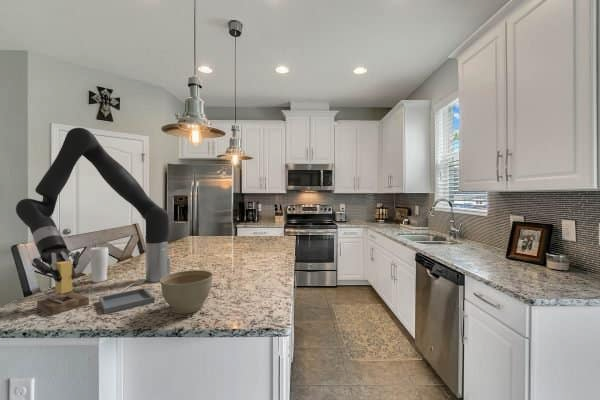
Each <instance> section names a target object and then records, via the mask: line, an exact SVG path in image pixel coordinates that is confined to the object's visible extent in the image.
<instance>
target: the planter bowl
mask: <svg viewBox="0 0 600 400" xmlns="http://www.w3.org/2000/svg"><path fill="white" fill-rule="evenodd" d="M212 281H213V272H211V271H208V270H202V269H197V270H196V269H193V270H192V269H191V270H183V271H177V272H173V273H170V274H169V275H166V276H164V277H163V278H161V280H160V281H159V282H160V286H161V294H162V296H163V298H164V300H165V301H166V303H167V305H168V306H169V307H171V310H172V312H173V313H174V314H180V315H186V314H191V313H195V312H198V311H199V310H201V309H202V308H203V307H204V303H205V301H206V300H207V298H208V296H209V294H210V291H211V289H212V283H213V282H212Z"/></svg>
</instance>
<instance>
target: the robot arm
mask: <svg viewBox="0 0 600 400" xmlns="http://www.w3.org/2000/svg"><path fill="white" fill-rule="evenodd" d="M81 157H84V158H85V159H86V160H87V161H89V162H90V163H91V164H92V165H93V166H94V168H95V169H96V170H97V172H98V174H99V175H100V176H101V177H102V179H104V181H105V182H106V183H107V184H108V186H109V187H110V188H111V189H113V191H114V192H116V193H117V194H118V195H119V196H120V197H121V198H122V199H123V200H125V201H126V202H128V203H129V204H130V205H131V206H133V207H134V209H136V211H137V212H138V213H139V214H140V215H141V217H142V218H143V219H144V220H145V281H146V282H148V283H157V282H160V280H161V278H163V277H164V276H166V275H169V274H171V265H170V264H171V258H170V257H169V234H170V233H169V232H170V229H169V228H170V225H169V224H170V223H169V221H170V217H169V213H168V212H167V210H166V209H165V208H162V207H160V206H159V205H158V204H157V203H155V202H154V201H153V200H152V199H151V198H150V197H149V196H148V195H147V194H146V191H145V190H144V189H143V187H142V186H141V184H140V183H139V182H138V181H137V180H136V178H135V177H134V176H133V175H132V174H131V173H130V172H129V171H128V170H127V169H126V168H125V166H123V165H122V164H120V163H119V162H118V161H117V160H115V159H114V158H113V157H112V156H111V155H110V154H109V153H108V152H107V151H106V150H105V148H104V147H103V146H102V145H101V143H100V142H99V140H98V139H97V138H96V136H95V135H94V134H93V133H92V132H91V131H90V130H89V129H87V128H84V127H74V128H71V129H70V130H68V132H67V133H66V135H65V138H64V140H63V143H62V144H61V148H60V150H59V152H58V153H57V156H56V157H55V159H54V161H53V163H52V164H51V165H50V167H49V168H48V170H47V171H46V172H45V174H44V175H43V177H42V178H41V180H40V181H39V183H38V184H37V186H36V187H35V189H34V190H35V193H37V194H38V195H40V196H42V200H37V199H33V198H23V199H21V200H19V201H18V202H17V203H16V206H15V212H16V215H17V216H18V218H19V219H20V220H21V221H22V222H23V223H24V224H25V226H26V227H28V228H29V230H30V233H31V235H32V239H33V243H34V245H35V247H36V249H37V252H38V255H39V257H38V258H36V257H34V258H33V260H32V262H31V266H32V267H34V268H36V270H38V271H39V272H41V273H42V274H43V275H48V274H51V276H52V278H53V280H54V282H55V281H57V282H60V281H61V280H62V277H61V275H60V273H59V271H58V270H57V266H56V263H57V262H62V261H68V262H71V260H73V261H72V280H73V279H74V278H75V277H76V271H75V269H76V268H77V266H78V265H79V262H80V256H81V252H80V251H76V252H71V251H70V250H69V249H68V246H67V244H66V242H65V240H64V237H63V236H62V233H61V232H60V230H59V229H58V227H57V224H56V223H55V220H54V219H52V218H51V217H52V215H53V214H54V213H55V209H56V205H57V202H58V198H59V195H60V193H61V192H62V191H63V189H64V188H65V186H66V184H67V183H68V180H69V178H70V176H71V175H72V172H73V170H74V167H75V166H76V164H77V162H78V161H80V158H81ZM70 258H71V259H70Z"/></svg>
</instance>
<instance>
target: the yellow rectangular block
mask: <svg viewBox="0 0 600 400" xmlns="http://www.w3.org/2000/svg"><path fill="white" fill-rule="evenodd" d="M72 264H73V262H71V261H70V262H68V261H62V262H57V263H56V266H57V270H58V271H59V273H60V275H61V277H62V280H61V281H60V282H57V281H55V280H54V285H55V286H54V287H55V292H56V293H59V294H66V293H70V292H73V279H72Z"/></svg>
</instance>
